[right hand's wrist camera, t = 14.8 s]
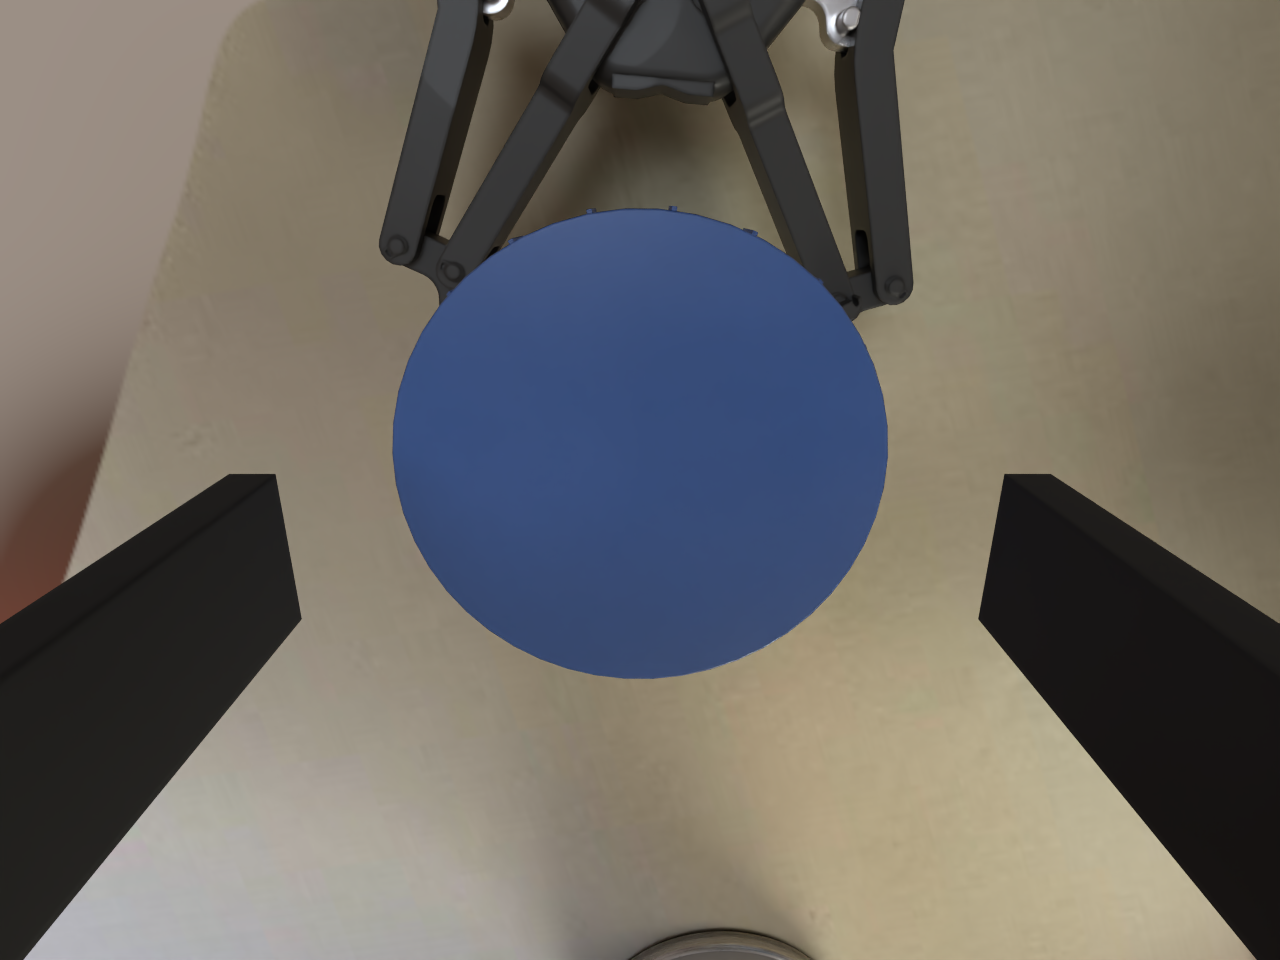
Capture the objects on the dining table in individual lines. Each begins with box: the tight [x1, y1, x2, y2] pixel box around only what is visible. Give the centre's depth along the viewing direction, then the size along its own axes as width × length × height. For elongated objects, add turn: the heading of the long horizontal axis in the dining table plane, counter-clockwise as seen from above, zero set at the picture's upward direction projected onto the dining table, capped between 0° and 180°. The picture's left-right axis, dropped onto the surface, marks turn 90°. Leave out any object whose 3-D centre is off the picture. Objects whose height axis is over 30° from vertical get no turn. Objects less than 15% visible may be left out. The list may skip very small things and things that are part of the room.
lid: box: [393, 206, 888, 679], centre depth 17 cm, size 11×11×2 cm
